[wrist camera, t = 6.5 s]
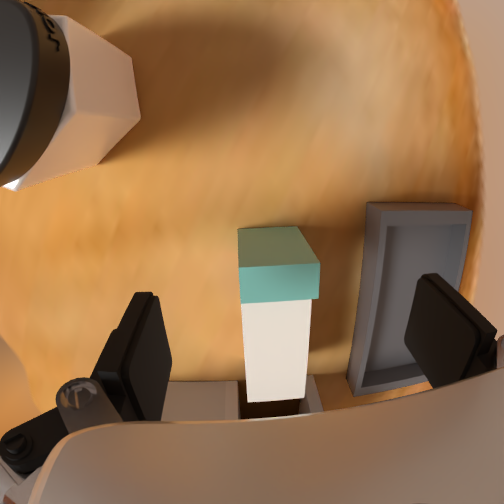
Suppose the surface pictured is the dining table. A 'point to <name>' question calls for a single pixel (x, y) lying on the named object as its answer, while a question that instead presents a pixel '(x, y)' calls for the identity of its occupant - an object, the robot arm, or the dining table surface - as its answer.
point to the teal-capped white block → (276, 310)
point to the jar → (58, 96)
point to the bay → (220, 401)
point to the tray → (400, 285)
